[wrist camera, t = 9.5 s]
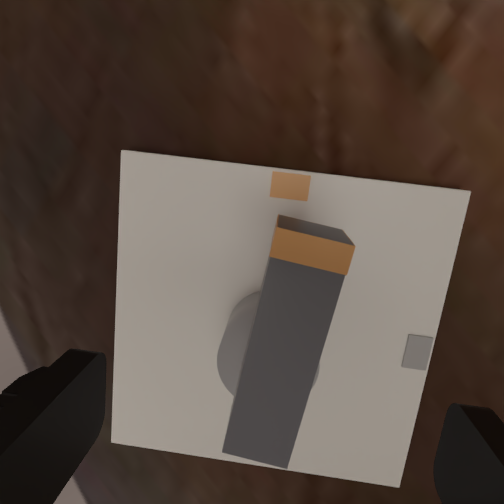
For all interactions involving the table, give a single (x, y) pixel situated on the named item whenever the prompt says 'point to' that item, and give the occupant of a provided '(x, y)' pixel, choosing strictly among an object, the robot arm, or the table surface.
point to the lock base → (227, 260)
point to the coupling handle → (286, 338)
